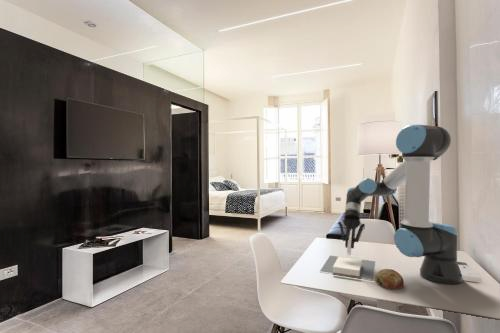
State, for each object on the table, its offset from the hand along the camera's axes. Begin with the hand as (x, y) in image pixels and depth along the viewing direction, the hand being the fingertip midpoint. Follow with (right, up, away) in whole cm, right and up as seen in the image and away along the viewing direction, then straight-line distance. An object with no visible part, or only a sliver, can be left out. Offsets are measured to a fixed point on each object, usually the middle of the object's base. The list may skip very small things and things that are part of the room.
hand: (348, 253), depth 133 cm
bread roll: (+10, -7, -18) cm, 22 cm away
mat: (+1, -7, +2) cm, 7 cm away
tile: (+2, -5, +4) cm, 7 cm away
